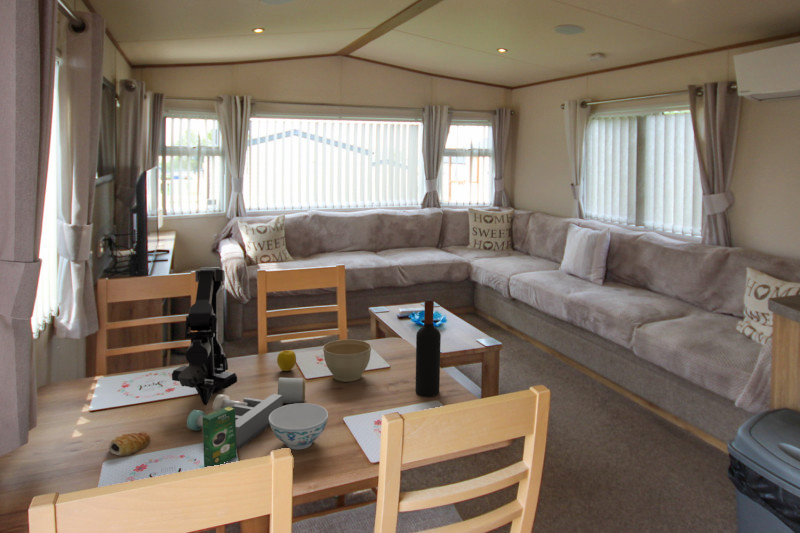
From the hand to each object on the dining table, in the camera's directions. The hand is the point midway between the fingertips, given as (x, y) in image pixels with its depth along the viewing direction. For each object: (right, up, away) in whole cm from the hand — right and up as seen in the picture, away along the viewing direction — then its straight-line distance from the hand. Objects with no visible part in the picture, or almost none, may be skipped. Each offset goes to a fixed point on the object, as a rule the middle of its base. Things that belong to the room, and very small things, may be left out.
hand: (205, 404), depth 165 cm
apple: (+17, +4, +32) cm, 37 cm away
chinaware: (+30, -6, -18) cm, 36 cm away
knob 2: (+8, -2, -3) cm, 9 cm away
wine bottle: (+65, 0, +15) cm, 67 cm away
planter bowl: (+39, +3, +27) cm, 47 cm away
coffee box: (+13, -8, -28) cm, 32 cm away
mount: (+14, -4, -10) cm, 18 cm away
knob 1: (+5, -4, -13) cm, 14 cm away
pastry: (-12, -6, -21) cm, 25 cm away
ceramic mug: (+23, -1, +8) cm, 25 cm away
